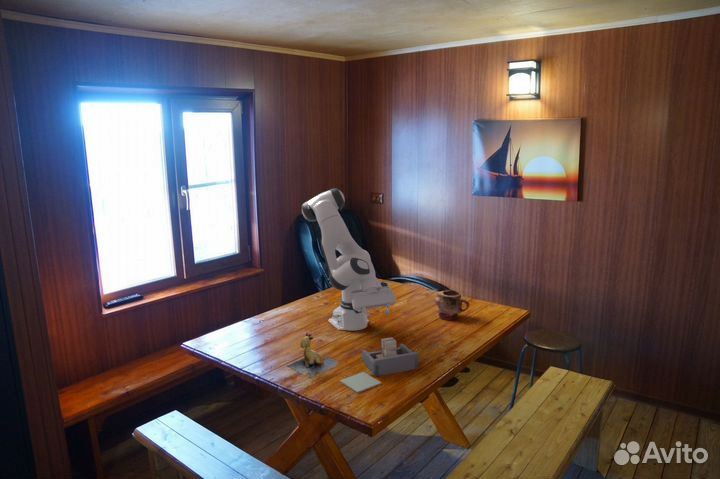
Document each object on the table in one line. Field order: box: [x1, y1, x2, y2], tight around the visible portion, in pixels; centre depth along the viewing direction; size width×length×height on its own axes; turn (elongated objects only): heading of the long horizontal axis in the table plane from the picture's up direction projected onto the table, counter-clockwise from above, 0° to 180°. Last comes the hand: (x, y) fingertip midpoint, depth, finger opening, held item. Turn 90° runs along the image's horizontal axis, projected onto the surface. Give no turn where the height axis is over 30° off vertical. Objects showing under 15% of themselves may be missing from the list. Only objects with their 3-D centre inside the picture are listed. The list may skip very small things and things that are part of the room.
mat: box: [339, 371, 382, 394], centre depth 213 cm, size 12×12×1 cm
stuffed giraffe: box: [286, 332, 339, 379], centre depth 229 cm, size 16×18×16 cm
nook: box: [361, 343, 419, 378], centre depth 228 cm, size 16×20×7 cm
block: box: [381, 337, 397, 358], centre depth 228 cm, size 4×5×8 cm
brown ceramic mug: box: [433, 289, 470, 321], centre depth 281 cm, size 20×12×14 cm, turn 60°
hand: (378, 315), depth 237 cm, fingers open, 8 cm apart
